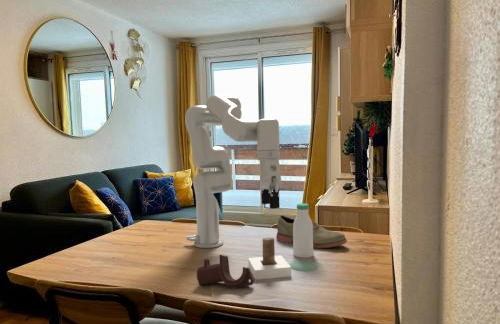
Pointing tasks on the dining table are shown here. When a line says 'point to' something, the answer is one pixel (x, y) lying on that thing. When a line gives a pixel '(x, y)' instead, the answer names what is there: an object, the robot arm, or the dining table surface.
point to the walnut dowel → (268, 251)
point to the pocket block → (269, 268)
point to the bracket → (222, 274)
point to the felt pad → (303, 266)
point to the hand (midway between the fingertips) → (270, 205)
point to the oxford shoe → (320, 235)
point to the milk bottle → (303, 233)
